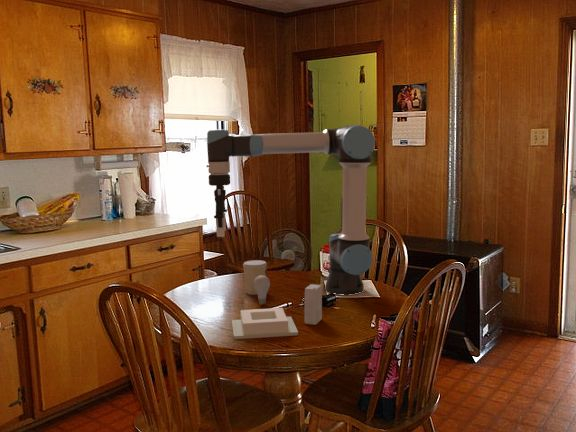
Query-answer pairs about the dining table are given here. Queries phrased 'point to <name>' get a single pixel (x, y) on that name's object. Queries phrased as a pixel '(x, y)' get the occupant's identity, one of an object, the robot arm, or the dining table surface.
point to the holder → (263, 324)
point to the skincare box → (313, 304)
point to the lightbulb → (261, 288)
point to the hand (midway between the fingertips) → (221, 233)
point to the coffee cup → (253, 274)
